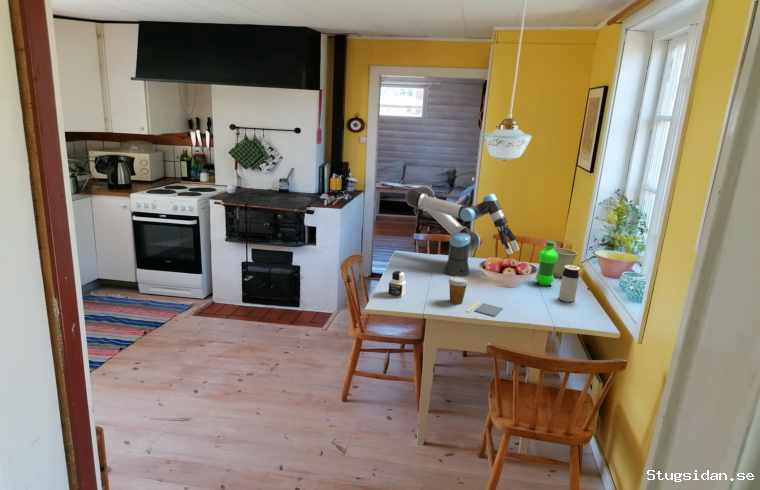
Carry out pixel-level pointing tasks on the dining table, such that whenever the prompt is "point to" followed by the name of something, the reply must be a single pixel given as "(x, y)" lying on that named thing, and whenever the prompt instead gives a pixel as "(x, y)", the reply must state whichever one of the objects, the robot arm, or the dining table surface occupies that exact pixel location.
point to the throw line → (472, 307)
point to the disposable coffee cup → (457, 289)
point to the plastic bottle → (547, 265)
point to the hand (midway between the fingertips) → (514, 252)
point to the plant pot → (563, 260)
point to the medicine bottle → (397, 285)
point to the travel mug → (569, 283)
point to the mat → (488, 309)
